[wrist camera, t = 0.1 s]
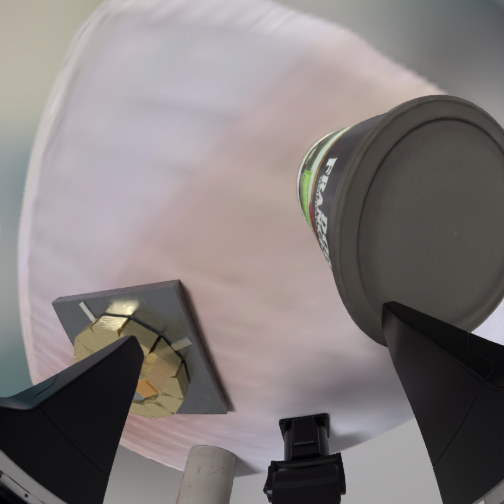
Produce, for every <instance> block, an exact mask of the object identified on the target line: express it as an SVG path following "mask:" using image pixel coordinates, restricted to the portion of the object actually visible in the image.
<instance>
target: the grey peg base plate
mask: <svg viewBox="0 0 504 504" xmlns="http://www.w3.org/2000/svg"><path fill="white" fill-rule="evenodd" d="M52 305H53V307H54V309H55V312H56V314H57V316H58V318H59V320H60V322H61V324H62V326H63V328H64V330H65V332H66V334H67V335H68V337H69V339H70V341H71V343H72V345H73V346H74V343H75V338H76V336H77V335H78V334H79V333H80V332H81V331H82V330H83V329H84V328H85V327H86V326H87V325H88V324H90V323H91V322H92V321H94V320H95V319H97V318H98V317H100V316H101V317H102V316H103V315H104V316H112V317H121V318H128V321H129V322H130V320H133V321H135V322H136V323H138V324H140V325H142V326H143V327H145V328H147V329H149V330H151V331H152V332H154V333H156V334H158V335H159V336H158V338H157V340H158V339H160V338H163V339H164V340H165V342H166V343H167V344H168V345H169V346H170V347H171V348H172V350H173V351H174V352H175V353H176V354H177V355H178V356H179V357H180V358H181V359H182V361H181V363H184V366H185V370H186V374H187V378H188V381H189V385H188V386H189V387H188V389H187V392H186V395H185V398H184V401H183V402H182V404H181V405H180V407H179V409H178V410H177V412H176V413H180V414H227V410H228V403H227V401H226V399H225V397H224V394H223V392H222V390H221V388H220V385H219V383H218V381H217V378H216V376H215V374H214V371H213V369H212V366H211V364H210V362H209V359H208V357H207V354H206V352H205V349H204V347H203V344H202V342H201V339H200V337H199V334H198V331H197V329H196V326H195V323H194V321H193V318H192V315H191V313H190V310H189V307H188V304H187V301H186V299H185V296H184V293H183V290H182V287H181V284H180V281H179V279H178V280H172V281H166V282H159V283H153V284H147V285H140V286H134V287H127V288H121V289H114V290H107V291H101V292H94V293H87V294H80V295H73V296H66V297H59V298H57V299H56V300H55V301H53V302H52ZM145 398H147V397H145ZM145 398H143V397H142V396H141V395H140V394H139V393H138V392H137V391H136V392H135V395H134V398H133V400H143V399H145Z"/></svg>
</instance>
